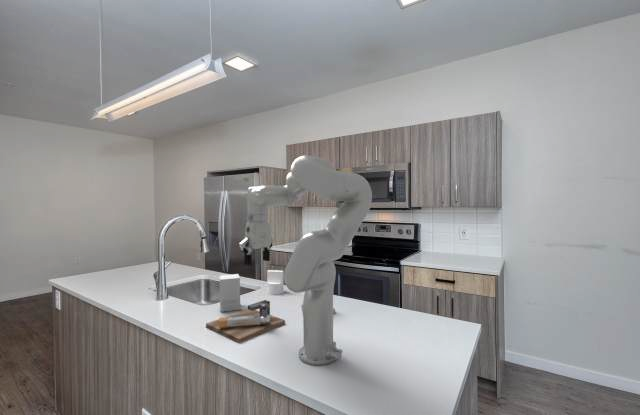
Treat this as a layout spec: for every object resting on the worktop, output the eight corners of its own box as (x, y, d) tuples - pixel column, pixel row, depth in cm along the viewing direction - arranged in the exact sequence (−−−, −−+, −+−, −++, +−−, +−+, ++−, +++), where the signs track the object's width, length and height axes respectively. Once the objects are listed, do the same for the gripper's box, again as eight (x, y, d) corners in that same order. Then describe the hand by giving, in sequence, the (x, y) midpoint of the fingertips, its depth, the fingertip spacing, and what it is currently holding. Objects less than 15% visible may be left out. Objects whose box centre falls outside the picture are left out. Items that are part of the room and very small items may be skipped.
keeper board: (285, 323, 123) (284, 304, 123) (239, 343, 106) (238, 320, 106) (251, 311, 137) (251, 294, 137) (206, 327, 120) (205, 307, 120)
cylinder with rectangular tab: (285, 290, 170) (285, 269, 170) (280, 295, 161) (280, 273, 161) (270, 289, 172) (270, 268, 172) (264, 294, 163) (264, 272, 163)
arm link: (270, 321, 121) (270, 302, 121) (270, 325, 117) (270, 306, 117) (220, 325, 118) (220, 305, 117) (218, 329, 113) (218, 309, 113)
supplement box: (239, 304, 148) (239, 273, 148) (240, 310, 139) (240, 277, 139) (220, 306, 145) (219, 274, 145) (219, 312, 136) (219, 279, 136)
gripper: (247, 220, 108) (247, 268, 108) (279, 218, 122) (279, 260, 123) (233, 219, 112) (233, 265, 112) (266, 217, 126) (265, 258, 127)
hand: (257, 262), depth 117 cm, fingers open, 9 cm apart
